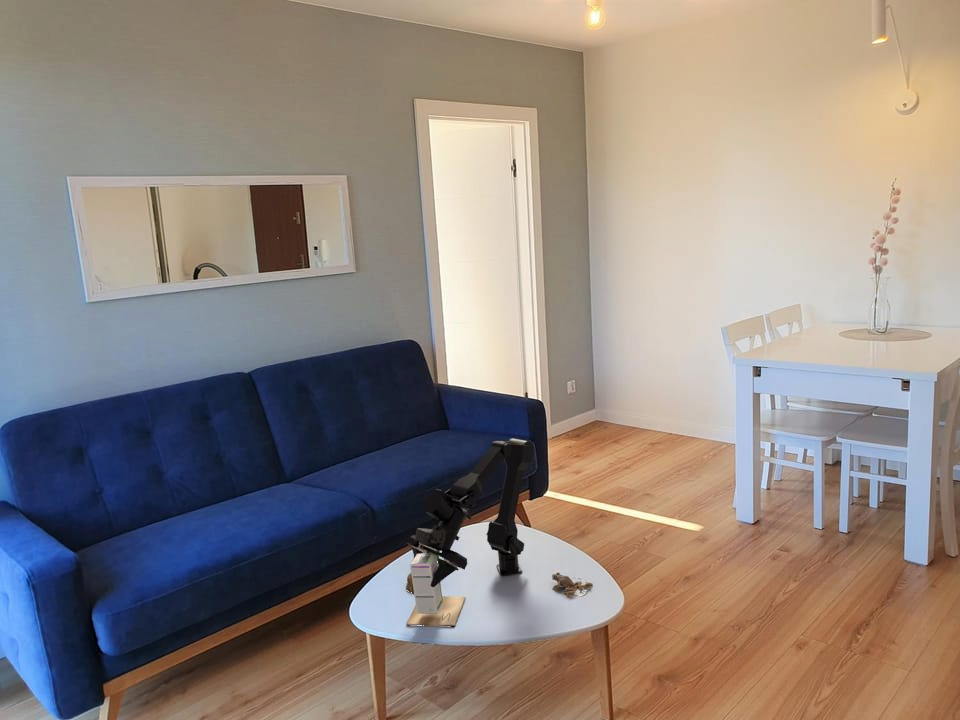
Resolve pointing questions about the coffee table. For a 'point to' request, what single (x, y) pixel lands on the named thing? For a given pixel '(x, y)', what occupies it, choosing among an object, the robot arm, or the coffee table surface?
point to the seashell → (409, 584)
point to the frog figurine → (570, 585)
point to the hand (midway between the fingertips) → (422, 582)
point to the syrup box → (426, 584)
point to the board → (439, 613)
